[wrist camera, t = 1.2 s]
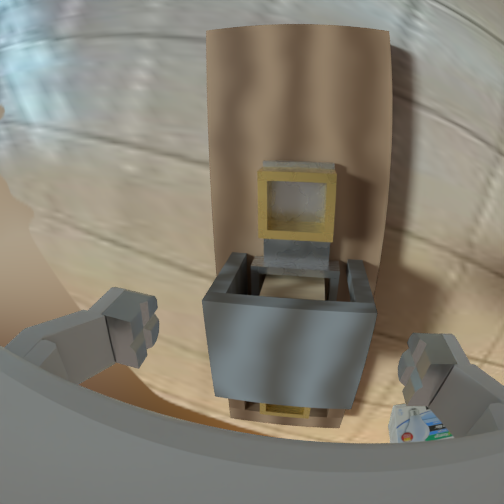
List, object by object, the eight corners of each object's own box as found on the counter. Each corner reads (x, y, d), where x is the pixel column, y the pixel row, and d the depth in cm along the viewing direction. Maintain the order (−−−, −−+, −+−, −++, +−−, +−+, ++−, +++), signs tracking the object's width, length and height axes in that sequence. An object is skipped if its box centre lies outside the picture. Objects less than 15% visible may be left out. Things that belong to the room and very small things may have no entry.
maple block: (324, 270, 33) (324, 300, 27) (316, 336, 36) (315, 370, 31) (268, 267, 34) (259, 295, 28) (268, 332, 37) (259, 366, 32)
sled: (345, 163, 28) (350, 169, 24) (317, 398, 40) (316, 421, 36) (253, 159, 29) (244, 165, 25) (257, 393, 42) (251, 415, 38)
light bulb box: (447, 395, 42) (460, 442, 32) (439, 417, 44) (449, 461, 34) (391, 405, 44) (398, 455, 34) (387, 426, 47) (391, 473, 37)
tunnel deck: (381, 41, 25) (418, -5, 12) (339, 410, 46) (337, 479, 34) (217, 39, 28) (162, -1, 16) (236, 400, 50) (214, 466, 37)
